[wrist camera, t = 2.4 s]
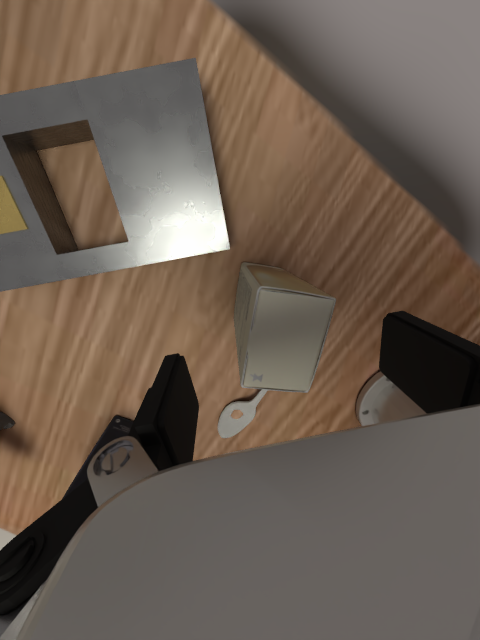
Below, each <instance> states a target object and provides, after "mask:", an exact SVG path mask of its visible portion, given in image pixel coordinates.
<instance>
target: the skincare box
mask: <svg viewBox="0 0 480 640" xmlns="http://www.w3.org/2000/svg"><path fill="white" fill-rule="evenodd" d="M335 302H336V299H335V298H334V297H332V296H330V295H329V294H327V293H325V292H323V291H321V290H319V289H318V288H316V287H314V286H312V285H311V284H309V283H307V282H305V281H303V280H302V279H300V278H298V277H296V276H295V275H293V274H291V273H289V272H287V271H286V270H284V269H282V268H277V267H272V266H266V265H260V264H254V263H247V262H243V263H242V264H241V269H240V274H239V280H238V287H237V294H236V301H235V310H234V326H235V335H236V344H237V354H238V364H239V374H240V383H241V387H243V388H254V389H264V390H275V391H286V392H305V393H306V392H308V391H309V389H310V386H311V384H312V381H313V378H314V376H315V373H316V370H317V367H318V363H319V360H320V357H321V353H322V350H323V346H324V343H325V340H326V336H327V332H328V329H329V325H330V321H331V318H332V314H333V310H334V306H335Z"/></svg>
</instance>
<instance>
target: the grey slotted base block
mask: <svg viewBox="0 0 480 640" xmlns="http://www.w3.org/2000/svg"><path fill="white" fill-rule="evenodd" d="M93 139H94V140H95V143H96V146H97V149H98V152H99V155H100V158H101V161H102V164H103V167H104V170H105V173H106V176H107V178H108V181H109V184H110V187H111V190H112V193H113V196H114V199H115V202H116V205H117V208H118V211H119V214H120V217H121V220H122V223H123V226H124V229H125V232H126V235H127V238H128V241H129V242H124V243H119V244H113V245H108V246H102V247H97V248H92V249H86V250H81V251H78V248H77V246H76V244H75V241H74V239H73V237H72V234H71V232H70V229H69V227H68V225H67V222H66V220H65V218H64V215H63V213H62V211H61V208H60V206H59V203H58V201H57V199H56V196H55V194H54V192H53V189H52V187H51V185H50V182H49V180H48V178H47V175H46V173H45V170H44V168H43V166H42V163H41V161H40V159H39V156H38V154H37V152H36V150H41V149H46V148H51V147H56V146H62V145H67V144H72V143H78V142H83V141H88V140H93ZM228 249H230V246H229V240H228V235H227V229H226V224H225V218H224V213H223V207H222V202H221V196H220V190H219V185H218V179H217V174H216V168H215V163H214V157H213V152H212V146H211V141H210V135H209V129H208V124H207V118H206V113H205V107H204V102H203V96H202V91H201V85H200V80H199V74H198V68H197V63H196V58H192V59H187V60H182V61H177V62H171V63H166V64H161V65H156V66H151V67H145V68H140V69H135V70H130V71H124V72H119V73H114V74H109V75H104V76H98V77H93V78H88V79H83V80H77V81H72V82H67V83H62V84H57V85H51V86H46V87H41V88H36V89H30V90H25V91H20V92H15V93H10V94H4V95H0V291H6V290H11V289H17V288H22V287H27V286H33V285H38V284H44V283H49V282H55V281H60V280H65V279H71V278H76V277H82V276H87V275H92V274H98V273H103V272H109V271H114V270H119V269H125V268H130V267H136V266H141V265H146V264H152V263H157V262H163V261H168V260H174V259H179V258H184V257H190V256H195V255H201V254H206V253H211V252H217V251H222V250H228Z"/></svg>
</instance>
